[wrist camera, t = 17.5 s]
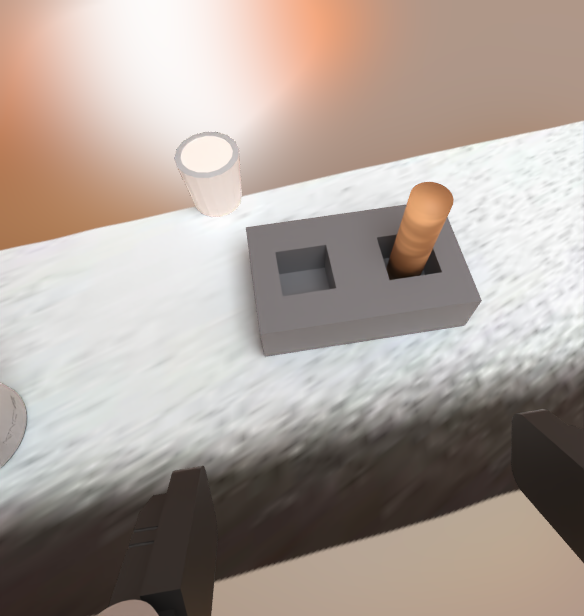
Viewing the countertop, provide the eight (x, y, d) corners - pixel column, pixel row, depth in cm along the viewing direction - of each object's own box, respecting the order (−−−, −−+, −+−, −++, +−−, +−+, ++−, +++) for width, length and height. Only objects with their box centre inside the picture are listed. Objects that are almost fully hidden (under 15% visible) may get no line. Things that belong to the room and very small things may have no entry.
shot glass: (204, 230, 52) (190, 186, 45) (180, 192, 55) (163, 146, 48) (257, 205, 53) (250, 160, 47) (230, 169, 56) (221, 122, 50)
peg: (389, 294, 46) (416, 217, 35) (380, 266, 47) (404, 184, 37) (421, 289, 46) (459, 211, 35) (412, 261, 47) (445, 179, 37)
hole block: (264, 356, 44) (260, 334, 40) (251, 256, 50) (245, 227, 45) (464, 325, 45) (481, 300, 40) (428, 230, 50) (440, 199, 46)
